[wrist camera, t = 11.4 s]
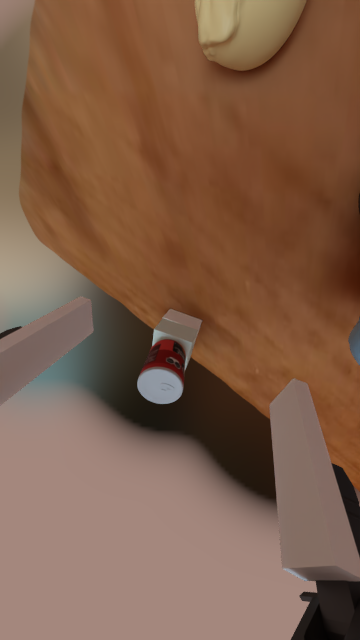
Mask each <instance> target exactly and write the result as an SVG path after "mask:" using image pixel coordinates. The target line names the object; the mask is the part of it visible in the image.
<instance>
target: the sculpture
mask: <svg viewBox="0 0 360 640" xmlns="http://www.w3.org/2000/svg"><path fill="white" fill-rule="evenodd" d="M306 1H307V0H195V12H196V18H197V23H198V40H199V43H200V45H201V47H202V48H203V53H204V55H205V56H206V57H207V59H208V60H209V61H215V62H217V63H219V64H220V65H222V66H224V67H227V68H230V69H233V70H238V71H245V70H250V69H253V68H256V67H258V66H260V65H262V64H263V63H265V62H266V61H268V60H269V59H270V58H271V57H272V56H274V55H275V54H276V53H277V52H278V50H279V49H280V48H281V47H282V46H283V44H284V43H285V42H286V40H287V39H288V37H289V36H290V34H291V33H292V31H293V29H294V27H295V25H296V24H297V22H298V20H299V18H300V15H301V13H302V11H303V9H304V6H305V4H306Z"/></svg>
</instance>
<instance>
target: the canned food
mask: <svg viewBox="0 0 360 640" xmlns="http://www.w3.org/2000/svg"><path fill="white" fill-rule="evenodd" d="M185 361H186V353H185V350H184V348H183V347H182V345H181V344H179V343H178V342H176V341H174V340H171V339H164V340H160V341H158V342H157V343H155V344H154V345H153V346H152V348H151V350H150V353H149V355H148V357H147V359H146V362H145V364H144V366H143V369H142V371H141V374H140V376H139V379H138V390H139V391H140V393H141V394H142V396H143V397H145V398H146V399H148V400H149V401H151V402H155V403H159V404H167V403H171V402H174V401H176V400H177V399H178V398H179V397H180V396H181V394H182V391H183V385H184V372H185Z"/></svg>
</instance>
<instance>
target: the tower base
mask: <svg viewBox="0 0 360 640" xmlns="http://www.w3.org/2000/svg"><path fill="white" fill-rule="evenodd" d="M163 318H164V319H167V320H170V321H173V322H176V323H179V324H182V325H185V326H188V327H191V328H194V329H197V330H198V332H199V329H200V326H201V323H202V320H200V319H198V318H195V317H192V316H189V315H187V314H184V313H181V312H178V311H175V310H173V309H169V310H168V312H167V313H166V314H165V315H164V317H163ZM198 332H197V335H198ZM196 338H197V336H196ZM195 340H196V339H195Z"/></svg>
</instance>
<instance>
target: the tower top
mask: <svg viewBox="0 0 360 640" xmlns="http://www.w3.org/2000/svg"><path fill="white" fill-rule="evenodd" d="M197 332H198V330H197V329H194V328H191V327H188V326H185V325H182V324H179V323H176V322H173V321H170V320H167V319H164V318H163V319H162V320H161V321H160V322H159V324H158V325H157V326H156V327H155V329H154V335H153V344H152V346H153V345H154V344H155V343H157V342H158V341H160V340H164V339H171V340H174V341H176V342H178V343H179V344H181V345H182V347H183V348H184V350H185V353H186V361H185V369H186V366H187V364H188V362H189V359H190V357H191V353H192V350H193V346H194V343H195V339H196V336H197Z"/></svg>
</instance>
